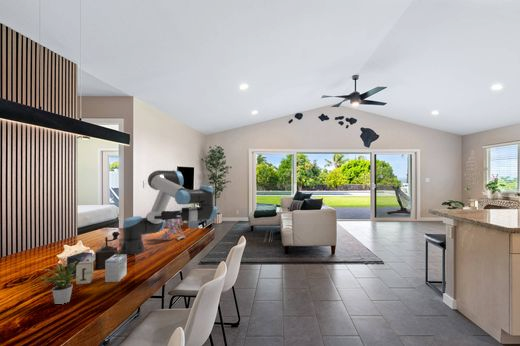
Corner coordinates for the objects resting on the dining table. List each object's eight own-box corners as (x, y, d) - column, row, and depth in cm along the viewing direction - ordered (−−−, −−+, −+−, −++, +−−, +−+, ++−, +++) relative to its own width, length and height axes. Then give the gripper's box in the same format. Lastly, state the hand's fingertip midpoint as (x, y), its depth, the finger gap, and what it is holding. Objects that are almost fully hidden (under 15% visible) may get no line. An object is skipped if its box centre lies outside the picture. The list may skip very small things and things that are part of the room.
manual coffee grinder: (116, 267, 162) (117, 235, 162) (94, 269, 158) (94, 237, 158) (119, 259, 177) (119, 230, 177) (99, 261, 172) (99, 232, 173)
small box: (76, 278, 145) (76, 257, 145) (65, 277, 146) (66, 257, 146) (92, 271, 155) (93, 252, 155) (82, 270, 156) (82, 251, 156)
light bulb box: (113, 274, 150) (114, 254, 150) (127, 274, 151) (127, 253, 151) (104, 282, 140) (104, 260, 140) (118, 281, 140) (118, 259, 140)
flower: (173, 233, 249) (163, 209, 240) (196, 232, 242) (186, 207, 233) (161, 248, 232) (149, 222, 222) (185, 247, 225) (174, 221, 215)
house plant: (59, 293, 126) (59, 256, 126) (90, 293, 126) (90, 256, 126) (32, 308, 112) (33, 266, 112) (67, 309, 112) (67, 267, 112)
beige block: (79, 280, 143) (79, 262, 143) (93, 278, 145) (93, 260, 145) (76, 284, 137) (76, 265, 137) (90, 282, 139) (90, 264, 139)
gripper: (190, 224, 147) (146, 226, 141) (187, 217, 171) (149, 219, 164) (190, 209, 147) (146, 211, 141) (187, 205, 171) (149, 206, 164)
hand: (148, 216), depth 153 cm, fingers open, 13 cm apart
